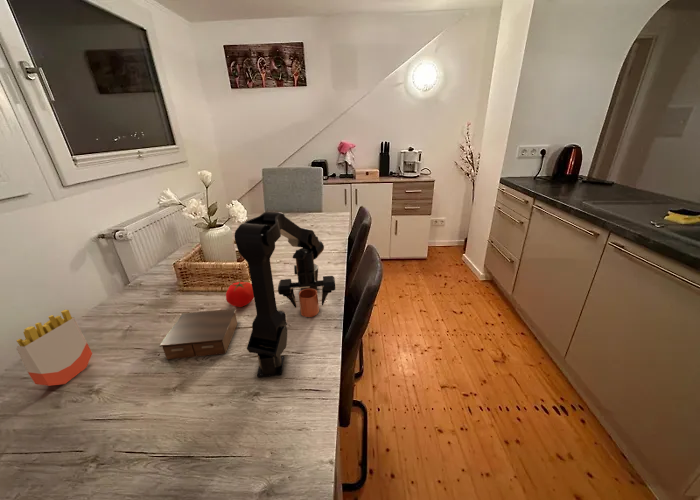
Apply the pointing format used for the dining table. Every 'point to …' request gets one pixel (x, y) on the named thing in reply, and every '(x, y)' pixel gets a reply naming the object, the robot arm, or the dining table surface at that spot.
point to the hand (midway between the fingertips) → (309, 305)
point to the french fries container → (54, 350)
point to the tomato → (239, 294)
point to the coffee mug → (315, 279)
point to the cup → (308, 302)
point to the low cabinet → (200, 334)
